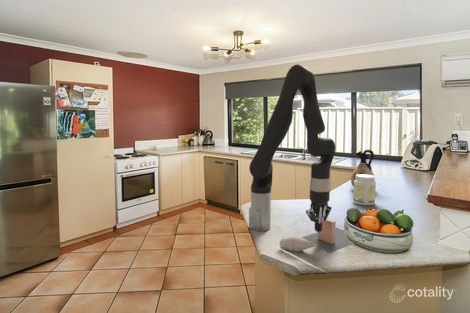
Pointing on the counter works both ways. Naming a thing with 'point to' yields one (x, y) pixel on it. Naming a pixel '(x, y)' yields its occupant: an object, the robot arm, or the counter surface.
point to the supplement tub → (364, 189)
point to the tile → (328, 231)
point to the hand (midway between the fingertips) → (318, 231)
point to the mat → (339, 243)
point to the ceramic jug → (363, 165)
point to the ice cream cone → (296, 243)
